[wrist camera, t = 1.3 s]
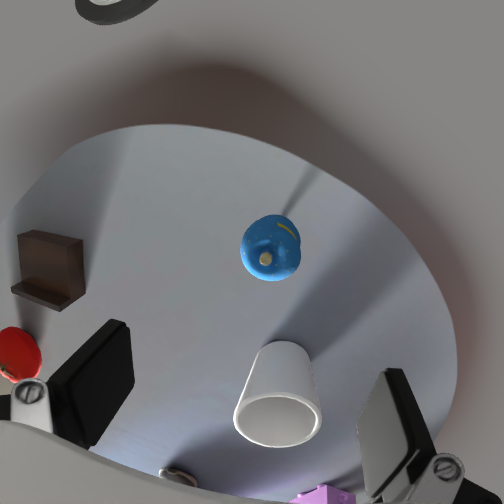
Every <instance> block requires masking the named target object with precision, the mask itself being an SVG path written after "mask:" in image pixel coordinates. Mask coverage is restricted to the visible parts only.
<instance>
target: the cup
mask: <svg viewBox="0 0 504 504" xmlns="http://www.w3.org/2000/svg"><path fill="white" fill-rule="evenodd" d="M321 423H322V413H321V409H320V404H319V399H318V395H317V390H316V385H315V381H314V376H313V372H312V367H311V363H310V358H309V356H308V354H307V352H306V351H305V350H304V348H303V347H302V346H301V345H300V344H296V343H293V342H290V341H281V340H274V341H272V342H270V343H269V344H267V345H266V346H264V347H262V348H261V350H260V351H259V352H258V354H257V356H256V359H255V361H254V364H253V367H252V369H251V372H250V374H249V377H248V380H247V382H246V385H245V387H244V390H243V392H242V395H241V397H240V400H239V402H238V405H237V407H236V410H235V412H234V424H235V427H236V429H237V430H238V431H239V432H240V433H241V434H242V435H243V436H244V437H246V438H247V439H248V440H250V441H252V442H255V443H257V444H260V445H263V446H267V447H290V446H294V445H298V444H301V443H304V442H306V441H308V440H309V439H311V438H312V437H313V436H314V435H315V434H316V433H317V432H318V431H319V429H320V427H321Z"/></svg>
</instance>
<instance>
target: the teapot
mask: <svg viewBox="0 0 504 504" xmlns="http://www.w3.org/2000/svg"><path fill="white" fill-rule="evenodd" d="M288 503H301V504H356V497H355V495H354V494H351V493H348V492H345V491H344V490H339V489H337V488H334V487H331V486H328V485H327V484H320V485H318V486H317V490H314V491H312V492H310V493H308V494H307V493H300V494H298V498H296V499H293V500H291V501H288Z"/></svg>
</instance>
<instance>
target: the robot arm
mask: <svg viewBox="0 0 504 504" xmlns="http://www.w3.org/2000/svg"><path fill="white" fill-rule="evenodd" d="M90 1H91V2H93V3H94V4H97V5H109V4H113V3H116V2H119V1H121V0H90ZM134 383H135V378H134V369H133V360H132V350H131V338H130V329H129V327H127V326H126V323H125V322H122V321H118V320H115V319H110V320H108V321H107V322H106V323H105V324H104V325H103V326H102V327H101V328H100V329H99V330H98V331H97V332H96V333H95V334H94V335H93V336H92V337H90V338H89V339H88V340H87V341H86V342H85V343H84V344H83V345H82V346H81V347H80V348H79V349H78V350H77V351H76V352H75V353H74V354H73V355H72V356H71V357H70V358H69V359H68V360H67V361H66V362H65V363H64V364H63V365H62V366H61V367H60V368H59V369H58V370H57V371H56V372H55V373H54V374H53V375H52V376H51V377H50V378H49V380H48V381H47V382H46V383H45V382H43V381H42V380H40V379H37V378H25V379H22V380H20V381H18V382H17V383H16V384H15V385H14V386H13V388H12V391H11V394H9V395H0V504H301V503H287V502H276V501H267V500H259V499H252V498H245V497H239V496H233V495H228V494H222V493H217V492H213V491H208V490H204V489H199V488H195V487H191V486H187V485H183V484H180V483H176V482H173V481H169V480H166V479H162V478H159V477H156V476H153V475H150V474H147V473H144V472H141V471H138V470H135V469H133V468H130V467H127V466H124V465H122V464H119V463H117V462H114V461H112V460H109V459H107V458H105V457H102V456H100V455H97V454H95V453H93V452H90V451H88V449H89V448H90V446H95V445H96V444H97V442H98V441H99V439H100V438H101V436H102V434H103V433H104V431H105V430H106V428H107V427H108V425H109V424H110V422H111V421H112V419H113V418H114V416H115V415H116V413H117V411H118V410H119V408H120V407H121V405H122V404H123V402H124V401H125V399H126V398H127V396H128V395H129V393H130V392H131V390H132V389H133V387H134ZM356 430H357V436H358V441H359V448H360V454H361V460H362V467H363V474H364V481H365V488H366V495H367V497H368V498H371V504H502V501H501V499H500V498H499V497H498V496H497V495H495V494H494V493H492V492H490V491H488V490H486V489H484V488H482V487H480V486H478V485H477V484H475V483H473V482H471V481H469V480H467V479H465V478H464V473H465V469H464V465H463V463H462V462H461V461H460V459H459V458H458V457H456V456H455V455H452V454H449V453H440V454H437V453H436V450H435V447H434V445H433V442H432V439H431V437H430V434H429V431H428V429H427V426H426V424H425V421H424V419H423V416H422V414H421V411H420V409H419V406H418V404H417V402H416V400H415V397H414V395H413V392H412V390H411V388H410V386H409V383H408V381H407V379H406V376H405V374H404V372H403V370H402V369H398V368H387V369H386V370H385V371H382V372H381V373H380V375H379V377H378V379H377V381H376V383H375V386H374V388H373V390H372V392H371V394H370V396H369V398H368V400H367V402H366V404H365V406H364V408H363V410H362V412H361V414H360V416H359V418H358V420H357V424H356Z"/></svg>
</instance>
